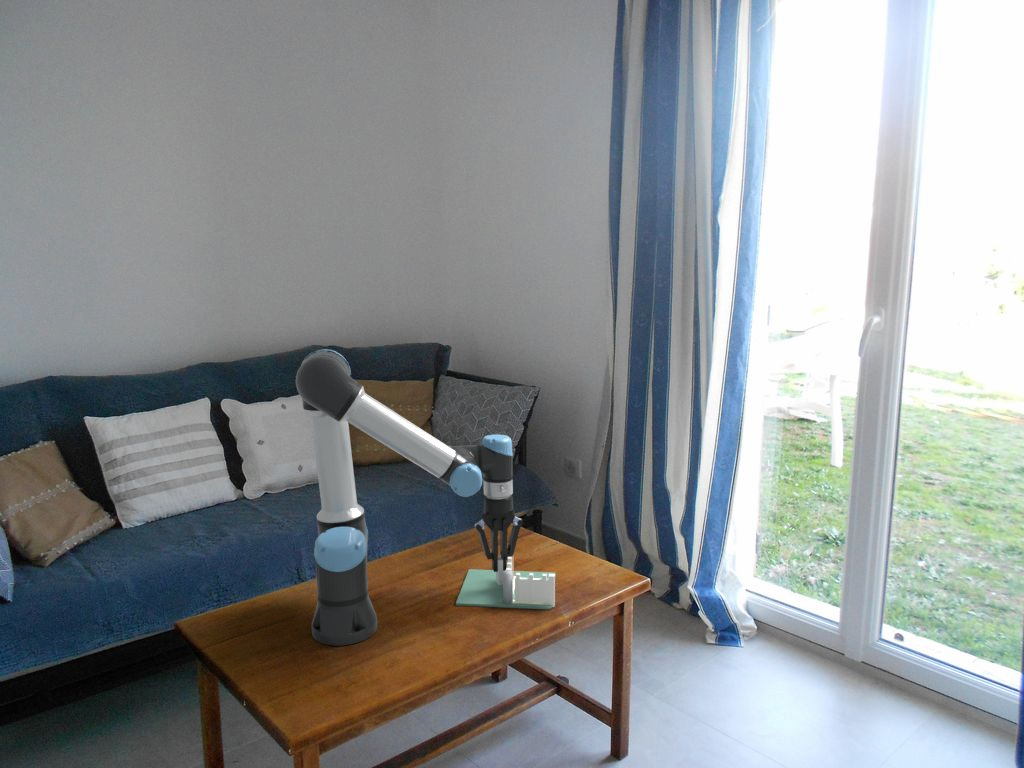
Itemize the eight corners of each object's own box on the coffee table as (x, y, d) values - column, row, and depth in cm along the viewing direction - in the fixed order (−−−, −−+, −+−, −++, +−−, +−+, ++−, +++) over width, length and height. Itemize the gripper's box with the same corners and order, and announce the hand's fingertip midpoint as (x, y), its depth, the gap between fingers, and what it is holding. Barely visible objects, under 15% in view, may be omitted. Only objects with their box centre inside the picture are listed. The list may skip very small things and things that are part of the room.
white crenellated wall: (507, 576, 202) (507, 546, 200) (513, 576, 202) (513, 546, 200) (505, 596, 190) (504, 565, 189) (511, 596, 190) (511, 565, 189)
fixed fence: (502, 605, 188) (502, 574, 186) (503, 601, 190) (503, 569, 188) (554, 608, 186) (554, 576, 185) (554, 603, 188) (554, 572, 187)
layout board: (455, 605, 188) (455, 602, 188) (469, 571, 208) (469, 568, 207) (551, 609, 185) (551, 606, 185) (555, 574, 205) (555, 572, 205)
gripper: (477, 502, 186) (479, 591, 190) (526, 497, 190) (527, 585, 194) (470, 493, 194) (472, 579, 197) (517, 488, 197) (518, 573, 201)
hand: (499, 582), depth 195 cm, fingers closed
